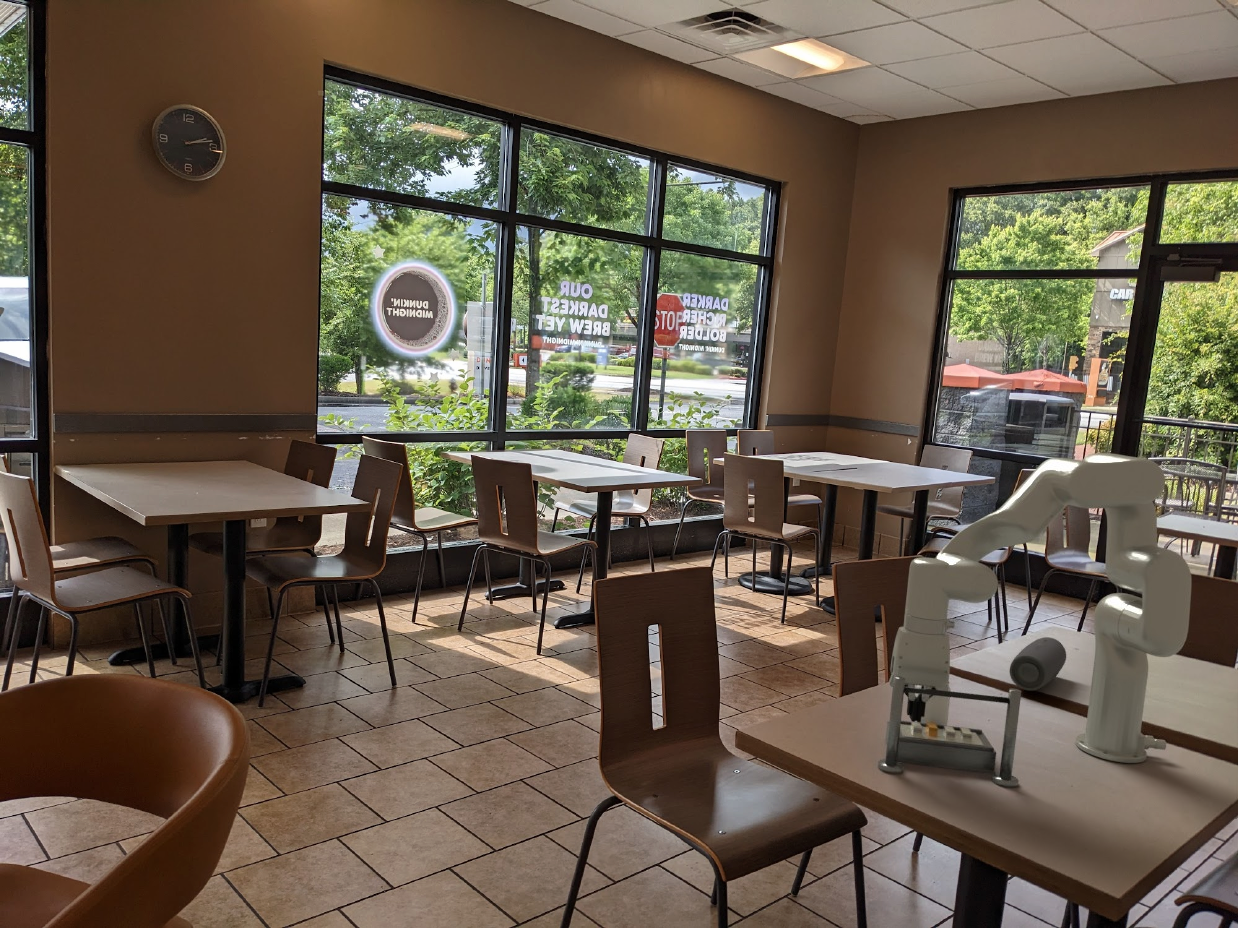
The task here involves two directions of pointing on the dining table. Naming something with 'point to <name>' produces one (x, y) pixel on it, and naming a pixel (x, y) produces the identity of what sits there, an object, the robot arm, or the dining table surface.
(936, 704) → the can
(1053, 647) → the bluetooth speaker
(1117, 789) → the dining table surface
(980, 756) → the breaker panel
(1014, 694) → the cord stand
